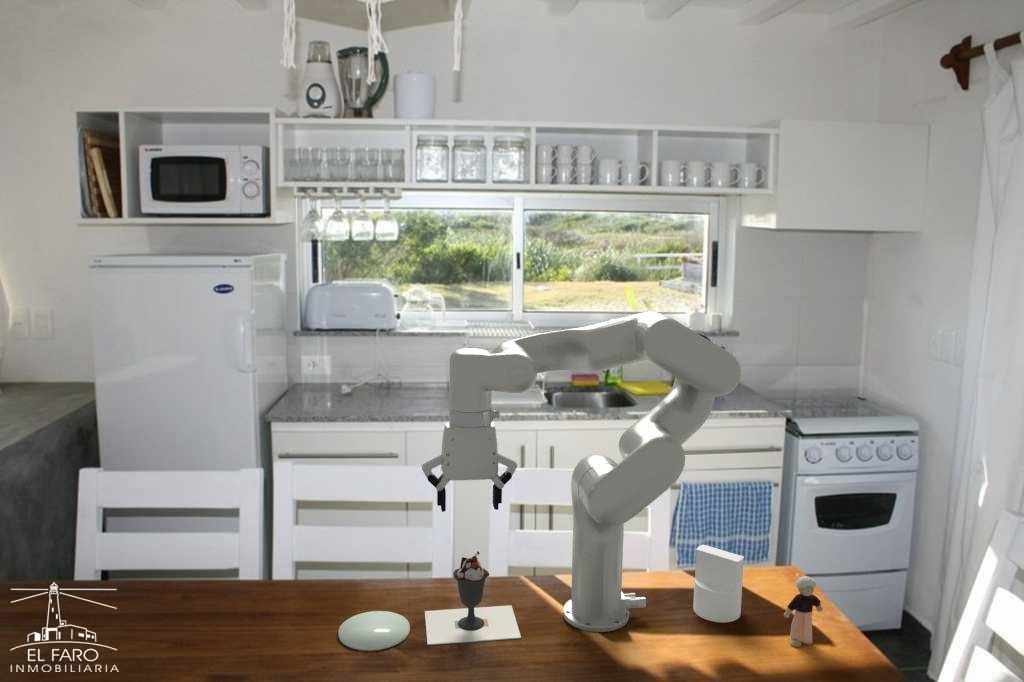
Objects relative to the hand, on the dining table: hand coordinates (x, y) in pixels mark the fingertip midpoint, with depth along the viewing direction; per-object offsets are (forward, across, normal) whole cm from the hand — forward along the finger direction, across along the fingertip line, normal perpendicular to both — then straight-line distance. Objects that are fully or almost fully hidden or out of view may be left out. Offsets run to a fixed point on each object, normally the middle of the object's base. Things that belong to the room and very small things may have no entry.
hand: (469, 508), depth 149 cm
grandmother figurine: (+23, -60, +14) cm, 65 cm away
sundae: (+23, -1, 0) cm, 23 cm away
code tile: (+23, -1, 0) cm, 23 cm away
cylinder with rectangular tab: (+23, -49, +1) cm, 54 cm away
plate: (+23, +17, 0) cm, 29 cm away
